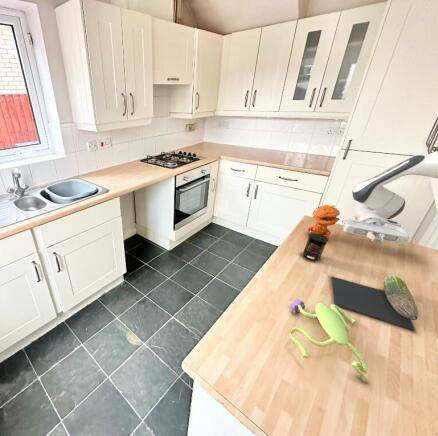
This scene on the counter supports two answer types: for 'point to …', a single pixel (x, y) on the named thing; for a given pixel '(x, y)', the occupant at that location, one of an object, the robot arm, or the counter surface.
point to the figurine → (329, 330)
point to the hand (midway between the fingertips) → (377, 240)
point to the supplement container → (314, 247)
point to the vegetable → (400, 297)
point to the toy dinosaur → (324, 220)
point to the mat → (367, 302)
